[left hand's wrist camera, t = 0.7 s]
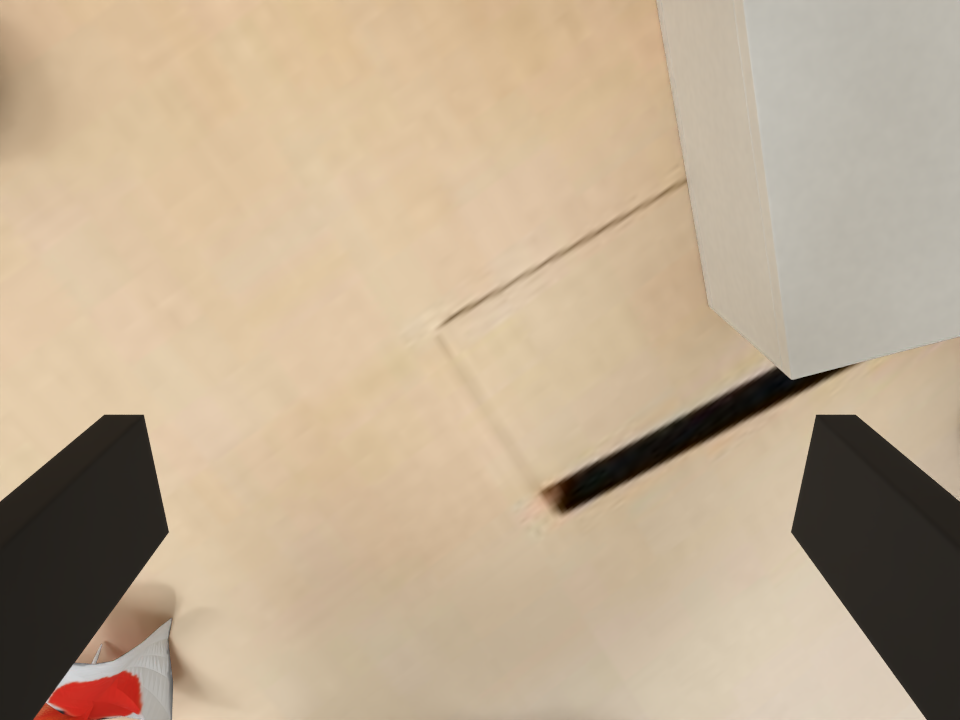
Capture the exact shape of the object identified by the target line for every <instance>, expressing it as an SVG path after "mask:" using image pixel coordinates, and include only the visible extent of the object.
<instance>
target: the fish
mask: <svg viewBox="0 0 960 720" xmlns="http://www.w3.org/2000/svg"><path fill="white" fill-rule="evenodd" d="M171 622H172V618H171V619H169V620H168V621H167V622H165V623H164V624H163V625H161V626H160V627H159V628H158V629H157V630H156V631H155V632H153V633H152V634H151V635H150V636H149V637H148V638H147V639H146V640H144V641H143V642H142V643H141V644H139V645H138V646H136V647H135V648H133V649H132V650H130V651H129V652H127V653H126V654H124V655H122V656H121V657H119V658H118V659H116V660H114V661H111V662H104V663H98V664H96V663H97V660H98V656H99V653H100V650H101V647H102V644H101V645H100V647H99V649H98V651H97V653H96V655H95V657H94V659H93V661H92V663H91V664H86V663H74V664H73V665H72V667H71V668H70V670H69V671H68V672H67V674H66V675H65V676H64V678H63V679H62V681H61V682H60V683H59V685H58V686H57V688H56V689H55V690H54V692H53V693H52V694H51V696H50V697H49V699H48V700H47V701H46V703H45V704H44V706H43V707H42V708H41V710H40V711H39V712H38V714H37V715H36V717H35V718H34V719H33V720H102V719H109V718H116V717H129V718H134V719H142V720H172V699H173V678H172V670H171V661H170V651H169V642H168V637H169V633H170V629H171Z"/></svg>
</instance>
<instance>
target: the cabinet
mask: <svg viewBox="0 0 960 720" xmlns="http://www.w3.org/2000/svg"><path fill="white" fill-rule="evenodd" d="M656 3H657V9H658V15H659V20H660V26H661V32H662V38H663V44H664V49H665V55H666V61H667V67H668V73H669V79H670V84H671V90H672V96H673V102H674V108H675V114H676V119H677V125H678V131H679V137H680V143H681V149H682V154H683V160H684V166H685V172H686V178H687V183H688V189H689V195H690V201H691V207H692V213H693V218H694V224H695V230H696V236H697V242H698V248H699V253H700V259H701V265H702V271H703V277H704V283H705V288H706V294H707V300H708V306H709V307H710V308H711V309H712V310H714V312H715V313H717V314H718V315H719V316H720V317H721V318H722V319H723V320H725V321H726V322H727V323H728V324H729V325H730V326H731V327H733V328H734V329H735V330H736V331H737V332H738V333H739V334H740V335H742V336H743V337H744V338H745V339H746V340H747V341H748V342H750V343H751V344H752V345H753V346H754V347H755V348H756V349H757V350H759V351H760V352H761V353H762V354H763V355H764V356H765V357H767V358H768V359H769V360H770V361H771V362H772V363H773V364H775V365H776V366H777V367H778V368H779V369H780V370H781V371H783V372H784V373H785V374H786V375H787V376H788V377H789V378H790V379H792V380H793V379H797V378H801V377H805V376H809V375H813V374H816V373H820V372H824V371H828V370H832V369H836V368H840V367H844V366H848V365H851V364H855V363H859V362H863V361H867V360H871V359H875V358H879V357H882V356H886V355H890V354H894V353H898V352H902V351H906V350H910V349H914V348H917V347H921V346H925V345H929V344H933V343H937V342H941V341H945V340H949V339H952V338H956V337H960V0H656Z"/></svg>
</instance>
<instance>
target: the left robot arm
mask: <svg viewBox="0 0 960 720" xmlns="http://www.w3.org/2000/svg"><path fill="white" fill-rule="evenodd" d="M168 533H169V531H168V526H167V521H166V517H165V512H164V507H163V503H162V498H161V493H160V489H159V484H158V479H157V475H156V470H155V465H154V461H153V456H152V451H151V447H150V442H149V437H148V433H147V428H146V423H145V419H144V415H104V416H102V417H101V418H100V419H99V420H98V421H96V422H95V423H94V424H93V425H92V426H90V427H89V428H88V429H87V430H86V431H84V432H83V433H82V434H81V435H80V436H78V437H77V438H76V439H75V440H74V441H72V442H71V443H70V444H69V445H68V446H66V447H65V448H64V449H63V450H62V451H60V452H59V453H58V454H57V455H56V456H54V457H53V458H52V459H51V460H50V461H48V462H47V463H46V464H45V465H44V466H42V467H41V468H40V469H39V470H38V471H36V472H35V473H34V474H33V475H32V476H30V477H29V478H28V479H27V480H26V481H24V482H23V483H22V484H21V485H20V486H18V487H17V488H16V489H15V490H14V491H12V492H11V493H10V494H9V495H8V496H7V497H5V498H4V499H3V500H2V501H1V502H0V720H33V719H34V718H35V717H36V715H37V714H38V712H39V711H40V710H41V708H42V707H43V706H44V704H45V703H46V701H47V700H48V699H49V697H50V696H51V694H52V693H53V692H54V690H55V689H56V688H57V686H58V685H59V683H60V682H61V681H62V679H63V678H64V676H65V675H66V674H67V672H68V671H69V670H70V668H71V667H72V665H73V664H74V663H75V661H76V660H77V659H78V657H79V656H80V654H81V653H82V652H83V650H84V649H85V647H86V646H87V645H88V643H89V642H90V641H91V639H92V638H93V636H94V635H95V634H96V632H97V631H98V629H99V628H100V627H101V625H102V624H103V623H104V621H105V620H106V618H107V617H108V616H109V614H110V613H111V611H112V610H113V609H114V607H115V606H116V605H117V603H118V602H119V600H120V599H121V598H122V596H123V595H124V593H125V592H126V591H127V589H128V588H129V587H130V585H131V584H132V582H133V581H134V580H135V578H136V577H137V575H138V574H139V573H140V571H141V570H142V569H143V567H144V566H145V564H146V563H147V562H148V560H149V559H150V558H151V556H152V555H153V553H154V552H155V551H156V549H157V548H158V546H159V545H160V544H161V542H162V541H163V540H164V538H165V537H166V535H167V534H168ZM791 533H792V534H793V535H794V537H795V538H796V540H797V541H798V542H799V544H800V545H801V546H802V548H803V549H804V551H805V552H806V553H807V555H808V556H809V558H810V559H811V560H812V562H813V563H814V564H815V566H816V567H817V569H818V570H819V571H820V573H821V574H822V575H823V577H824V578H825V580H826V581H827V582H828V584H829V585H830V587H831V588H832V589H833V591H834V592H835V593H836V595H837V596H838V598H839V599H840V600H841V602H842V603H843V605H844V606H845V607H846V609H847V610H848V611H849V613H850V614H851V616H852V617H853V618H854V620H855V621H856V623H857V624H858V625H859V627H860V628H861V629H862V631H863V632H864V634H865V635H866V636H867V638H868V639H869V641H870V642H871V643H872V645H873V646H874V647H875V649H876V650H877V652H878V653H879V654H880V656H881V657H882V659H883V660H884V661H885V663H886V664H887V665H888V667H889V668H890V670H891V671H892V672H893V674H894V675H895V676H896V678H897V679H898V681H899V682H900V683H901V685H902V686H903V688H904V689H905V690H906V692H907V693H908V694H909V696H910V697H911V699H912V700H913V701H914V703H915V704H916V706H917V707H918V708H919V710H920V711H921V712H922V714H923V715H924V717H925V718H926V719H927V720H960V502H959V501H958V500H957V499H956V498H955V497H953V496H952V495H951V494H950V493H949V492H947V491H946V490H945V489H944V488H943V487H942V486H940V485H939V484H938V483H937V482H936V481H934V480H933V479H932V478H931V477H930V476H928V475H927V474H926V473H925V472H924V471H922V470H921V469H920V468H919V467H918V466H916V465H915V464H914V463H913V462H912V461H910V460H909V459H908V458H907V457H906V456H904V455H903V454H902V453H901V452H900V451H898V450H897V449H896V448H895V447H894V446H892V445H891V444H890V443H889V442H888V441H886V440H885V439H884V438H883V437H882V436H880V435H879V434H878V433H877V432H876V431H874V430H873V429H872V428H871V427H870V426H868V425H867V424H866V423H865V422H864V421H862V420H861V419H860V418H859V417H858V416H856V415H816V419H815V423H814V428H813V433H812V437H811V442H810V447H809V451H808V456H807V461H806V465H805V470H804V475H803V479H802V484H801V489H800V493H799V498H798V503H797V507H796V512H795V517H794V521H793V526H792V531H791Z"/></svg>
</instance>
